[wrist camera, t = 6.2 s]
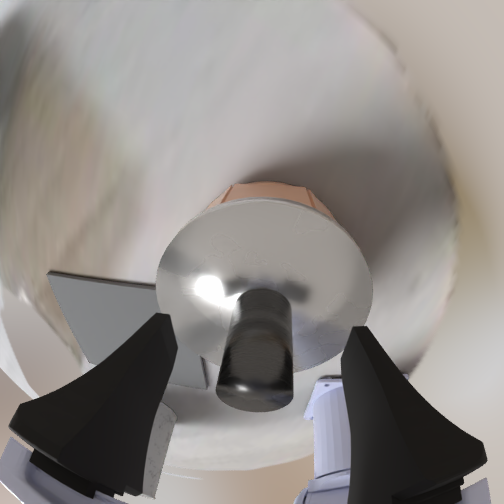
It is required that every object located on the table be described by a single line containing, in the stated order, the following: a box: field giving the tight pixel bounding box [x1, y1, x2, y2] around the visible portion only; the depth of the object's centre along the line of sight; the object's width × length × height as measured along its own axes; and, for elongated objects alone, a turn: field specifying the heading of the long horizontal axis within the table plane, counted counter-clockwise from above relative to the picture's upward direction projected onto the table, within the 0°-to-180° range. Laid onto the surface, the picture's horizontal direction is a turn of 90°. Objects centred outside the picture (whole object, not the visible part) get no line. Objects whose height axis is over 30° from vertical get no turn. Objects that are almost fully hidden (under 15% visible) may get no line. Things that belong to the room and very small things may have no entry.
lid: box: [156, 197, 373, 412], centre depth 10 cm, size 10×10×5 cm
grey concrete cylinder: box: [140, 402, 177, 499], centre depth 23 cm, size 10×10×12 cm
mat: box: [46, 272, 208, 390], centre depth 21 cm, size 14×12×1 cm
